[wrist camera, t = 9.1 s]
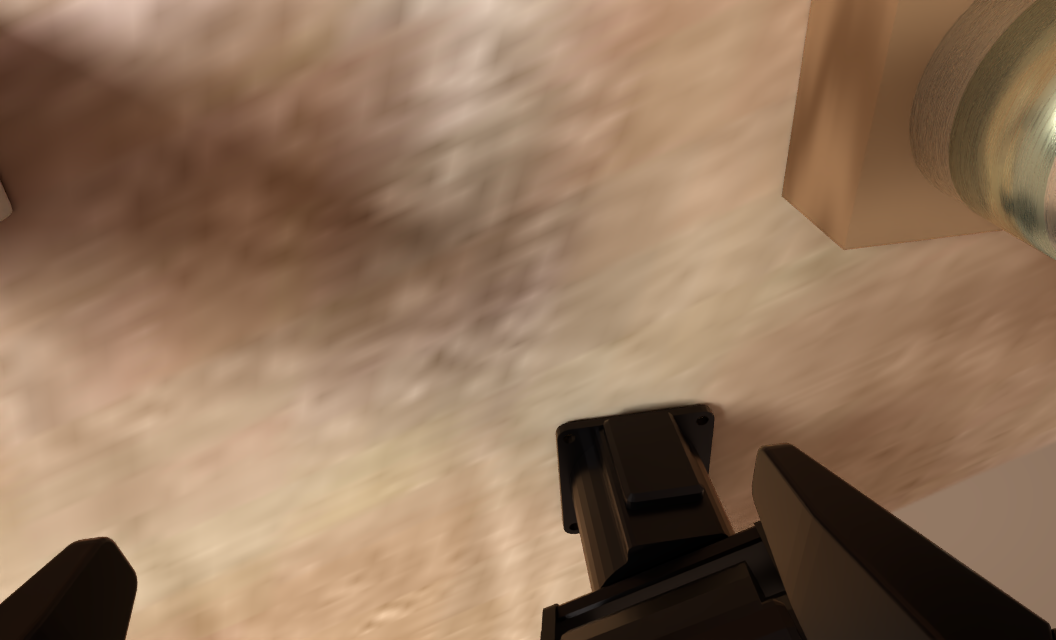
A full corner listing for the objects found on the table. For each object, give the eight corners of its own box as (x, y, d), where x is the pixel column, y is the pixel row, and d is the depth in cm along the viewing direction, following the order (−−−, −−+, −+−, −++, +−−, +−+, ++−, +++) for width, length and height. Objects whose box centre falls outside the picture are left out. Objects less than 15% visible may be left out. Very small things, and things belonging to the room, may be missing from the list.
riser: (1009, 168, 22) (1112, 216, 18) (781, 196, 21) (843, 250, 18) (1110, -115, 17) (1270, -120, 14) (824, -86, 17) (917, -85, 13)
